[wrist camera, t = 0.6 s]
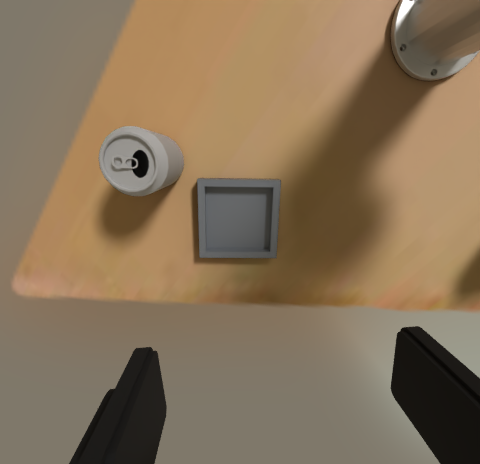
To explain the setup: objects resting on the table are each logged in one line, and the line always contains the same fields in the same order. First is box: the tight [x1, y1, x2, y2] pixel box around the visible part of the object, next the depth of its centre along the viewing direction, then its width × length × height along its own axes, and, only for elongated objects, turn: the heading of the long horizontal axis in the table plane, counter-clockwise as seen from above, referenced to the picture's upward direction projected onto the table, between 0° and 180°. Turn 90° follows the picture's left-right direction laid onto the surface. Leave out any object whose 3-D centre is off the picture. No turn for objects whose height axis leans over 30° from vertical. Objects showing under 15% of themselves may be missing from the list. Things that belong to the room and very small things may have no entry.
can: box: [99, 126, 184, 196], centre depth 33 cm, size 8×8×12 cm
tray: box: [197, 178, 281, 258], centre depth 40 cm, size 12×12×2 cm
